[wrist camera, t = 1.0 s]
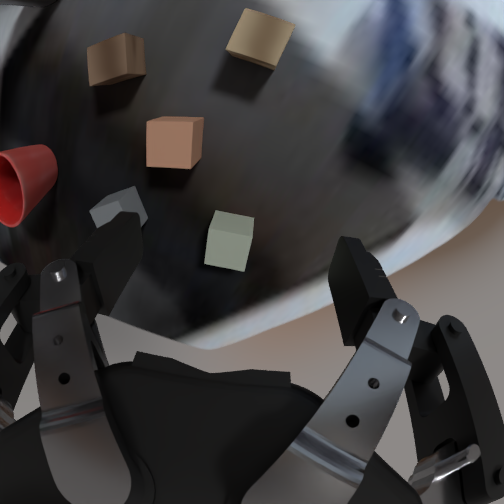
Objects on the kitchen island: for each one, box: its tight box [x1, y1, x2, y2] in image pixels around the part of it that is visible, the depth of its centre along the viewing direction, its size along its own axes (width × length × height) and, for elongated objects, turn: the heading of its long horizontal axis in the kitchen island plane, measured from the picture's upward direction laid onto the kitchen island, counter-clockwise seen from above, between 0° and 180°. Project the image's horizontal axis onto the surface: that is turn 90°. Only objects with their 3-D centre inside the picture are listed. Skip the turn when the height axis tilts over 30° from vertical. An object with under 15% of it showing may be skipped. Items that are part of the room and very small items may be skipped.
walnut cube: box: [87, 33, 146, 86], centre depth 22 cm, size 5×5×5 cm
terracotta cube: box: [147, 117, 204, 169], centre depth 27 cm, size 5×5×5 cm
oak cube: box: [226, 8, 295, 70], centre depth 21 cm, size 5×5×5 cm
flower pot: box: [0, 144, 58, 227], centre depth 27 cm, size 11×11×10 cm
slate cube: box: [90, 186, 148, 228], centre depth 33 cm, size 5×5×5 cm
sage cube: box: [204, 211, 254, 271], centre depth 34 cm, size 5×5×5 cm
